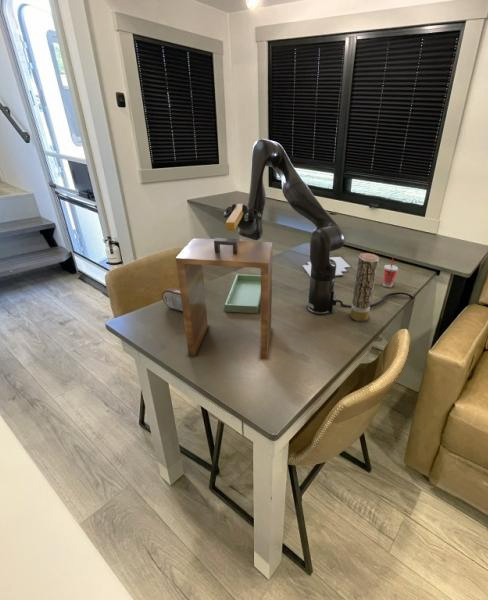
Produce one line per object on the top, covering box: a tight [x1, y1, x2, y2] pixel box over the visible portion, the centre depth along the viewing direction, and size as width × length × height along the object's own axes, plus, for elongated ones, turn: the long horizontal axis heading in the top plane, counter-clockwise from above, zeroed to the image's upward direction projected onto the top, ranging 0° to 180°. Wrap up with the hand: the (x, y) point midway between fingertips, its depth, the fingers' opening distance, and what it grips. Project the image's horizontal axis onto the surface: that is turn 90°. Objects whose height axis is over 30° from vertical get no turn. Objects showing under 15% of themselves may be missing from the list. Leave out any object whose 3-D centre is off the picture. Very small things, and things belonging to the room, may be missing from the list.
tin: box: [161, 286, 183, 313], centre depth 121 cm, size 15×3×8 cm, turn 71°
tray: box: [224, 273, 261, 314], centre depth 136 cm, size 27×12×3 cm, turn 1°
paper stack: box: [302, 256, 351, 277], centre depth 167 cm, size 23×25×1 cm
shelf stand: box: [175, 237, 274, 360], centre depth 100 cm, size 24×16×36 cm, turn 91°
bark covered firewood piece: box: [349, 252, 380, 322], centre depth 121 cm, size 7×7×25 cm
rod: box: [225, 203, 246, 232], centre depth 103 cm, size 2×22×2 cm, turn 2°
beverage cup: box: [382, 256, 399, 288], centre depth 150 cm, size 6×6×14 cm
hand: (238, 207), depth 107 cm, fingers closed on rod, 2 cm apart
